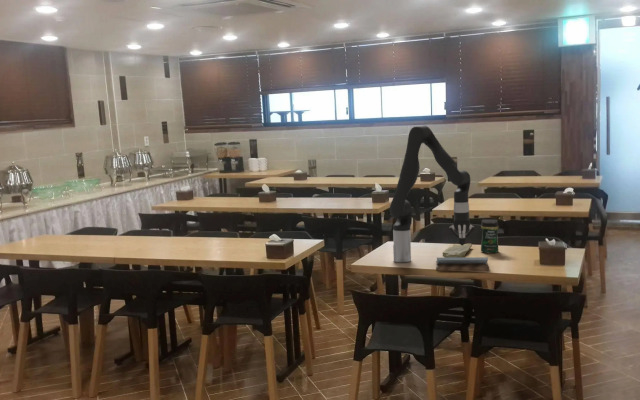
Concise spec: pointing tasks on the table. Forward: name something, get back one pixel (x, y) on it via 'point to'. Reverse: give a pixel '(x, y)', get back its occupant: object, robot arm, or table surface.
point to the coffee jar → (489, 236)
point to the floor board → (462, 267)
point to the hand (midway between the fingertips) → (462, 245)
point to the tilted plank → (463, 260)
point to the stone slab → (457, 251)
